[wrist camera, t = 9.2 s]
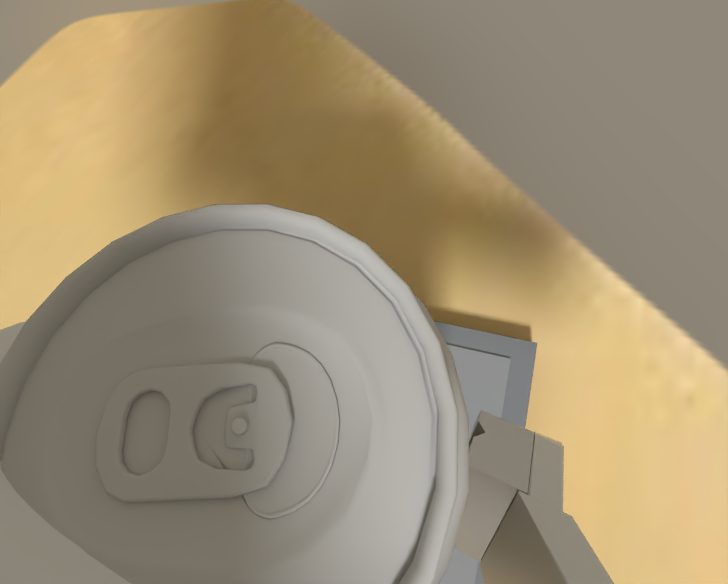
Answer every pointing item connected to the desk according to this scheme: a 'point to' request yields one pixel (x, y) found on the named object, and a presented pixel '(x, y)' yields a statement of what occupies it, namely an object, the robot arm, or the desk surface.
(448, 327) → the coaster
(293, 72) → the desk surface
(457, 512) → the beverage can
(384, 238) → the desk surface
